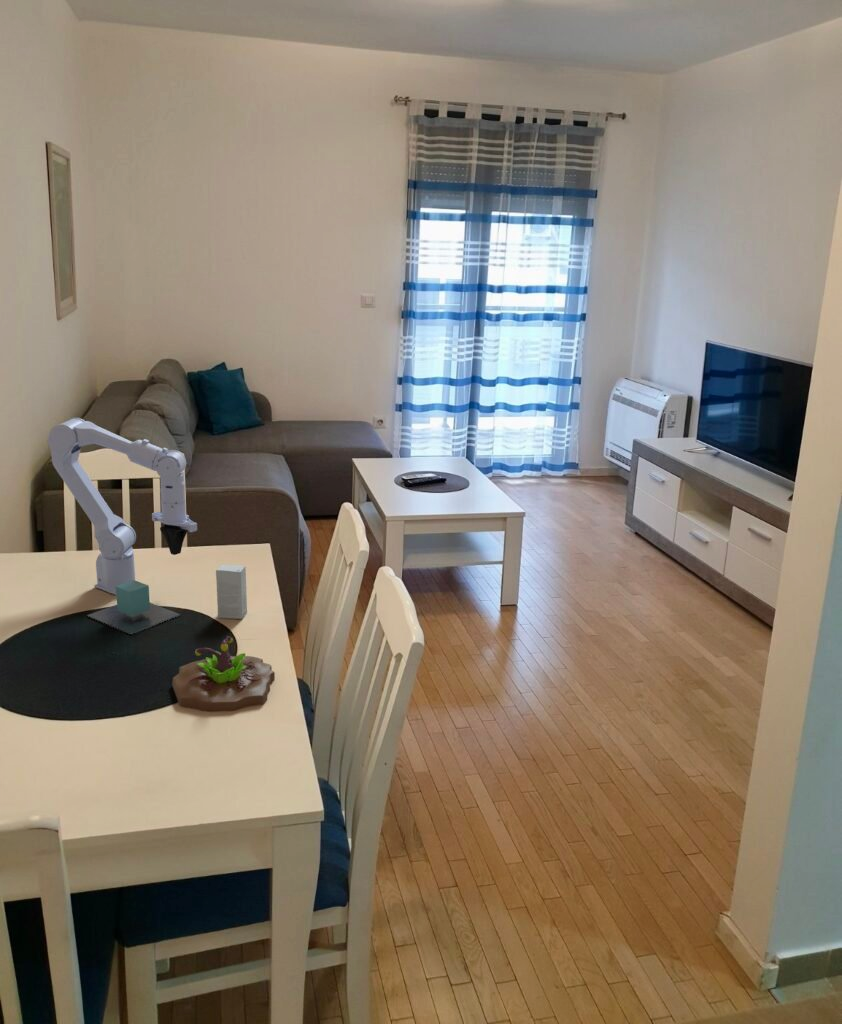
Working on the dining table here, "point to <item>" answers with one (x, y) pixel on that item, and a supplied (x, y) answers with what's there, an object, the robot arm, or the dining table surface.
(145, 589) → the teal box
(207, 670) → the plant
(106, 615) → the dark grey square tile
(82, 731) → the dining table surface
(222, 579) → the skincare box
